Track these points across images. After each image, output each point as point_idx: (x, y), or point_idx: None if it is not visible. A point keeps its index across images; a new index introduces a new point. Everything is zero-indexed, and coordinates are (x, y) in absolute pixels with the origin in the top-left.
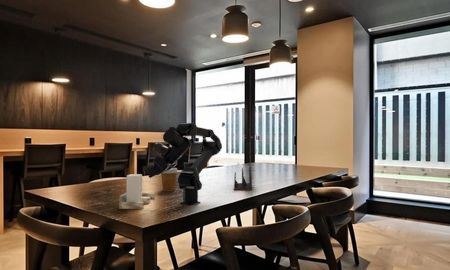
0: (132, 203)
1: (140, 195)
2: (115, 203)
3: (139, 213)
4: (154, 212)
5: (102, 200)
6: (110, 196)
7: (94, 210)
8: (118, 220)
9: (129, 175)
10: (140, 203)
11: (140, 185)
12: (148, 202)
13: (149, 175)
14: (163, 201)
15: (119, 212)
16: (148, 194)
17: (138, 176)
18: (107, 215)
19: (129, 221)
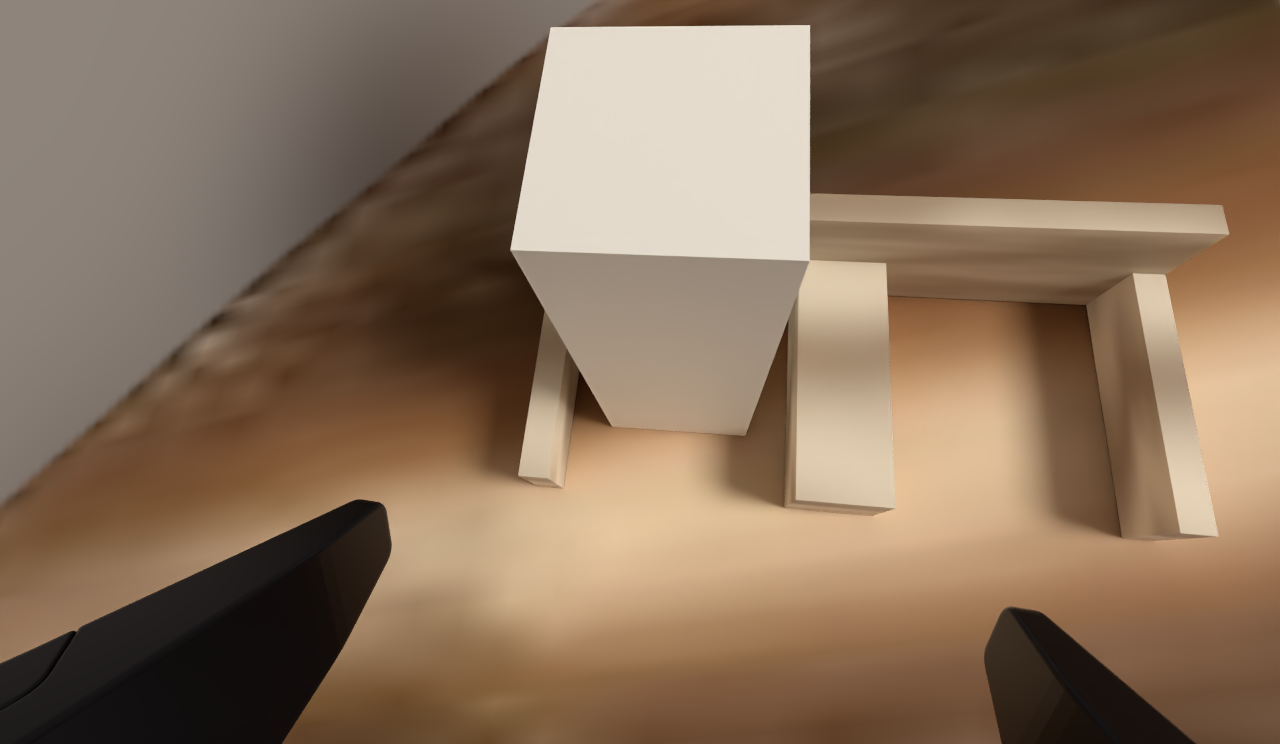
0: (538, 360)
1: (680, 399)
2: (812, 163)
3: (350, 489)
4: (354, 644)
5: (950, 17)
6: (1173, 16)
7: (538, 94)
8: (164, 363)
9: (590, 61)
10: (524, 449)
11: (673, 349)
12: (786, 504)
13: (321, 530)
14: (952, 696)
15: (429, 299)
16: (1150, 439)
17: (514, 252)
18: (347, 237)
19: (101, 458)
